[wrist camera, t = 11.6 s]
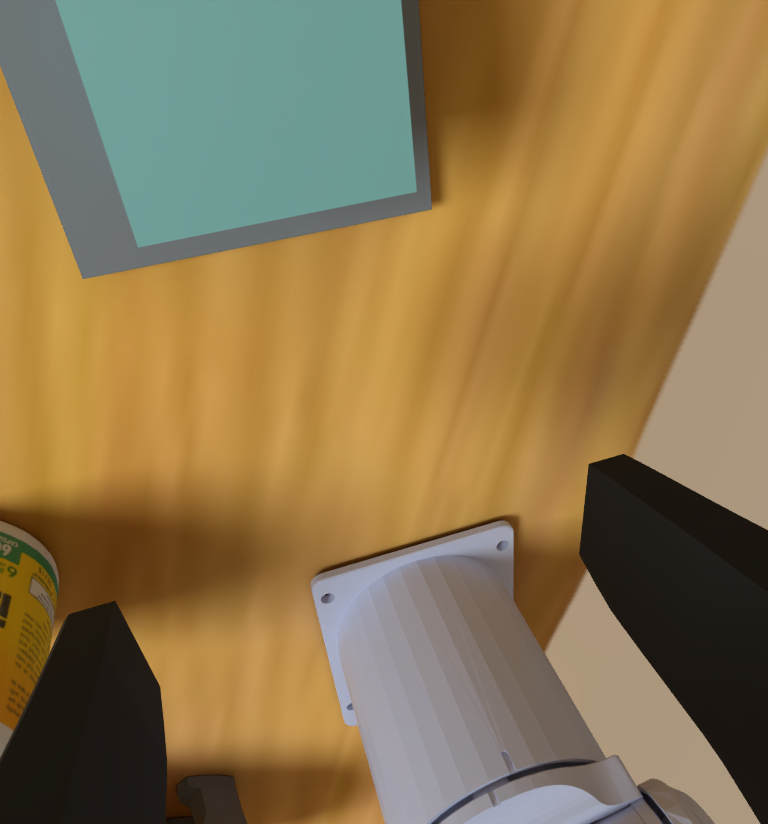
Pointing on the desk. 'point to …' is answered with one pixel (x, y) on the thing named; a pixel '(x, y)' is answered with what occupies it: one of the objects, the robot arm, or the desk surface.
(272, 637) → the desk surface
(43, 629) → the supplement bottle
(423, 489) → the desk surface
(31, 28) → the slate mat
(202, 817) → the giant panda
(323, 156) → the teal cube
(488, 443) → the desk surface
